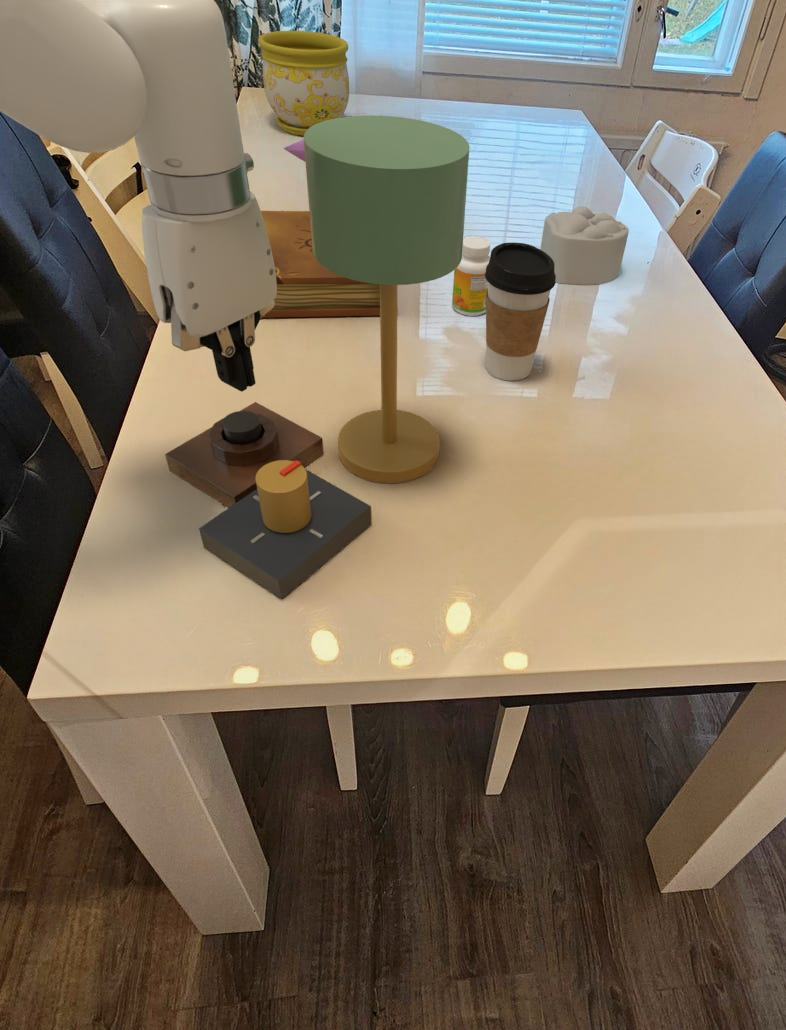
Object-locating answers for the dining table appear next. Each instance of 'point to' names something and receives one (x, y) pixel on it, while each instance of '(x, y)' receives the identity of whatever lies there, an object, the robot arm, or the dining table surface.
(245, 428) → the power button
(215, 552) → the dimmer panel
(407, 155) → the lamp
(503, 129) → the dining table surface
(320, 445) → the switch block
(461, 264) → the supplement bottle
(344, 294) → the diary
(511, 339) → the coffee cup
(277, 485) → the dimmer knob
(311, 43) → the flowerpot
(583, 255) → the lumpy-topped squat cylinder
